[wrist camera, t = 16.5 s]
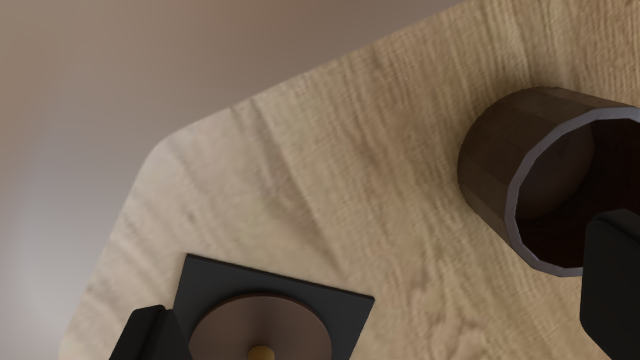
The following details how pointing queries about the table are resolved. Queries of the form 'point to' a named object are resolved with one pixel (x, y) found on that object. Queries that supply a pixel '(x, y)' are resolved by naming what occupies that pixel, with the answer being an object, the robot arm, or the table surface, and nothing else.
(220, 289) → the mat
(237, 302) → the tin lid
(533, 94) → the tin
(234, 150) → the table surface
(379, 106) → the table surface
